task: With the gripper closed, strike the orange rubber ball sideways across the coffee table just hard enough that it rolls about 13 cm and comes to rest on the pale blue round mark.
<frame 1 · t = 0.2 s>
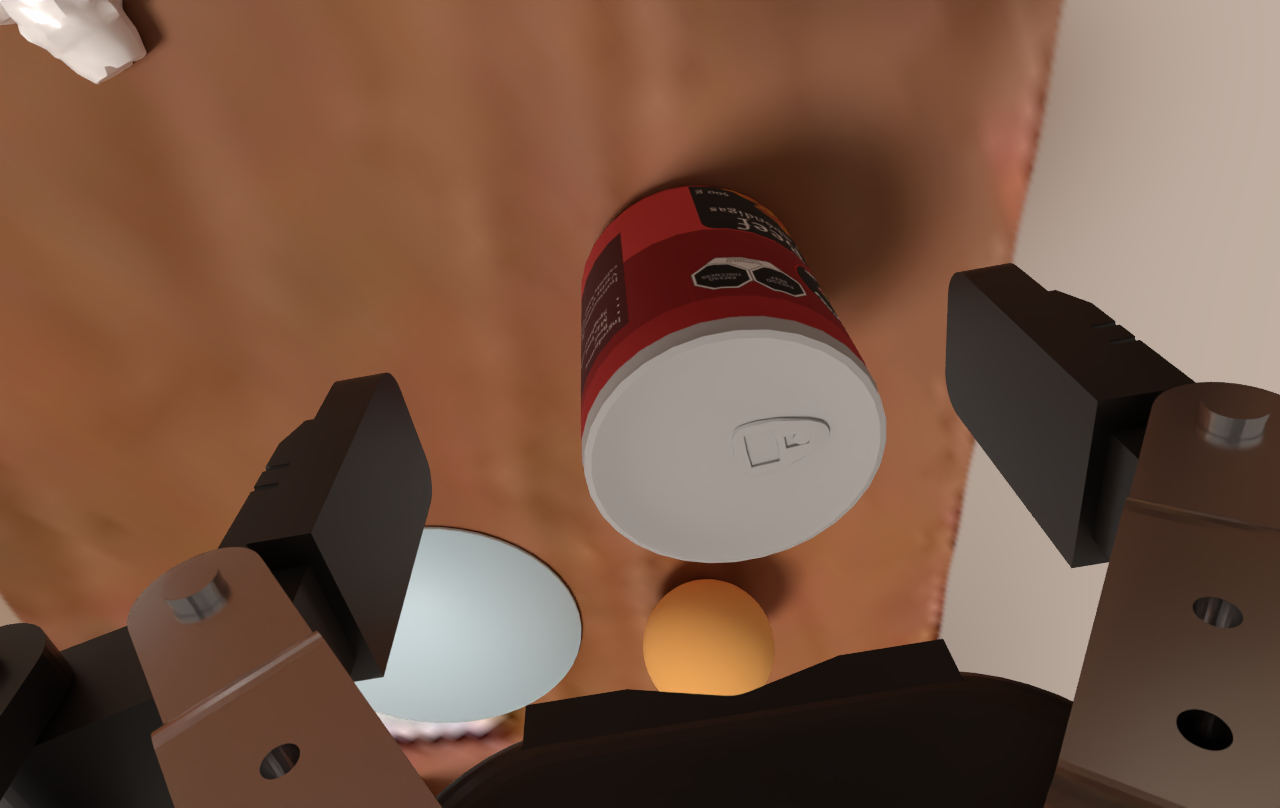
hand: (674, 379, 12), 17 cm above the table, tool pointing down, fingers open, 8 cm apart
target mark: (439, 632, 39), on the table
ball: (708, 645, 37), on the table
canned food: (687, 276, 30), on the table
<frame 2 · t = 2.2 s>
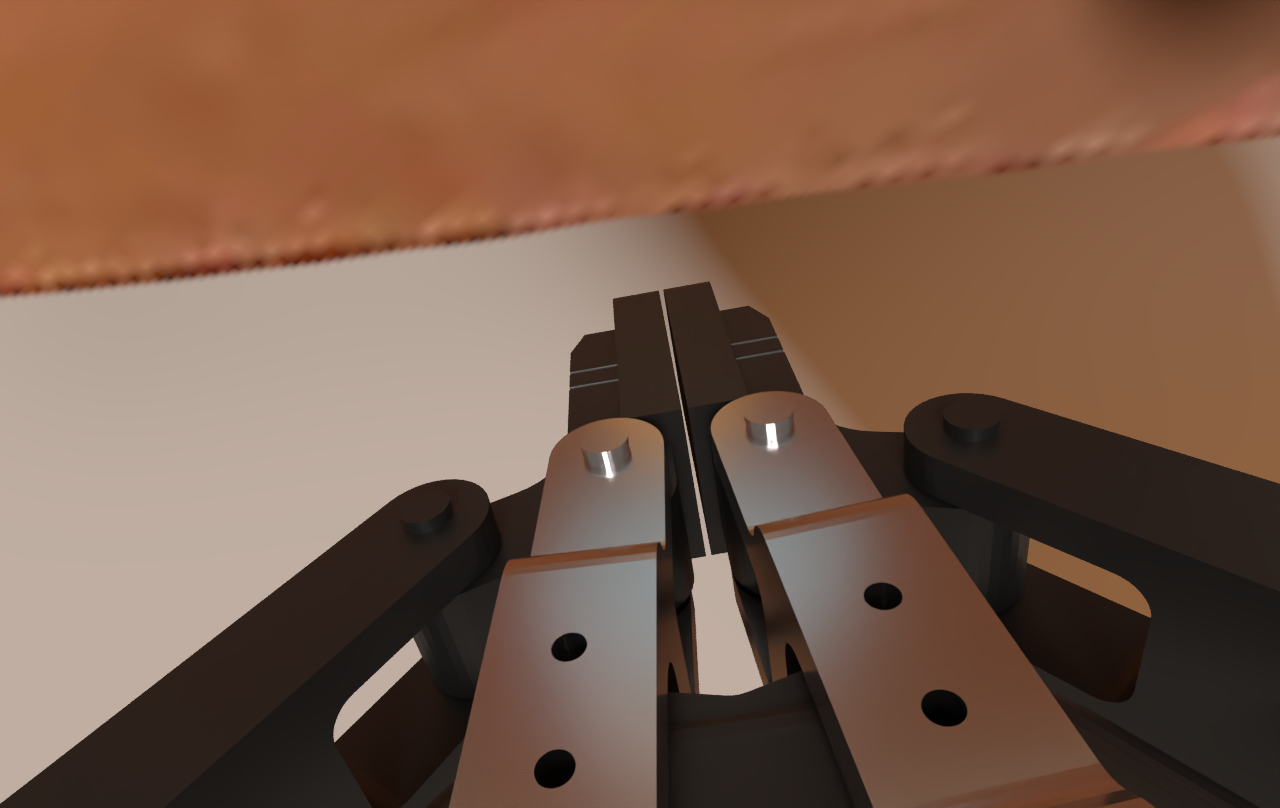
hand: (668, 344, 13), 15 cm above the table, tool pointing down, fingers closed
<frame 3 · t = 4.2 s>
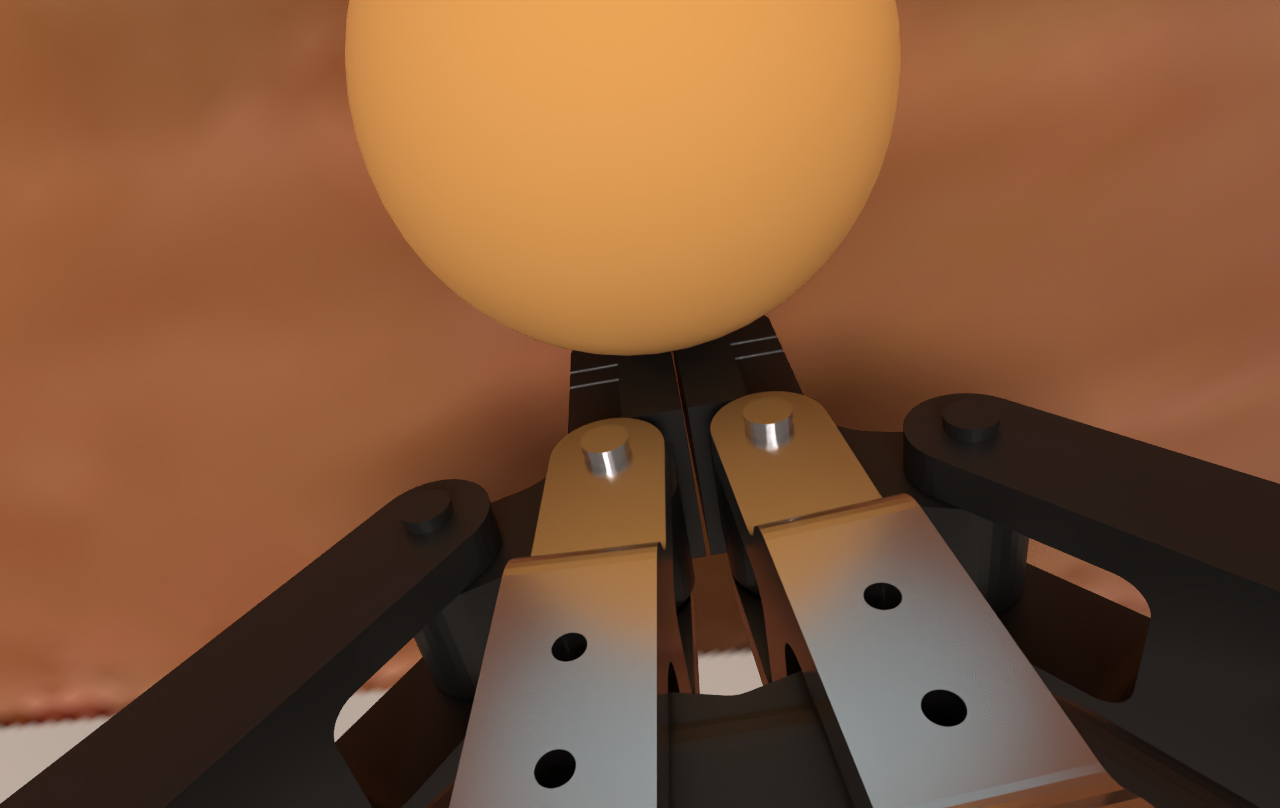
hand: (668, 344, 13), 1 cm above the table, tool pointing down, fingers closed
ball: (624, 92, 9), on the table, touching gripper
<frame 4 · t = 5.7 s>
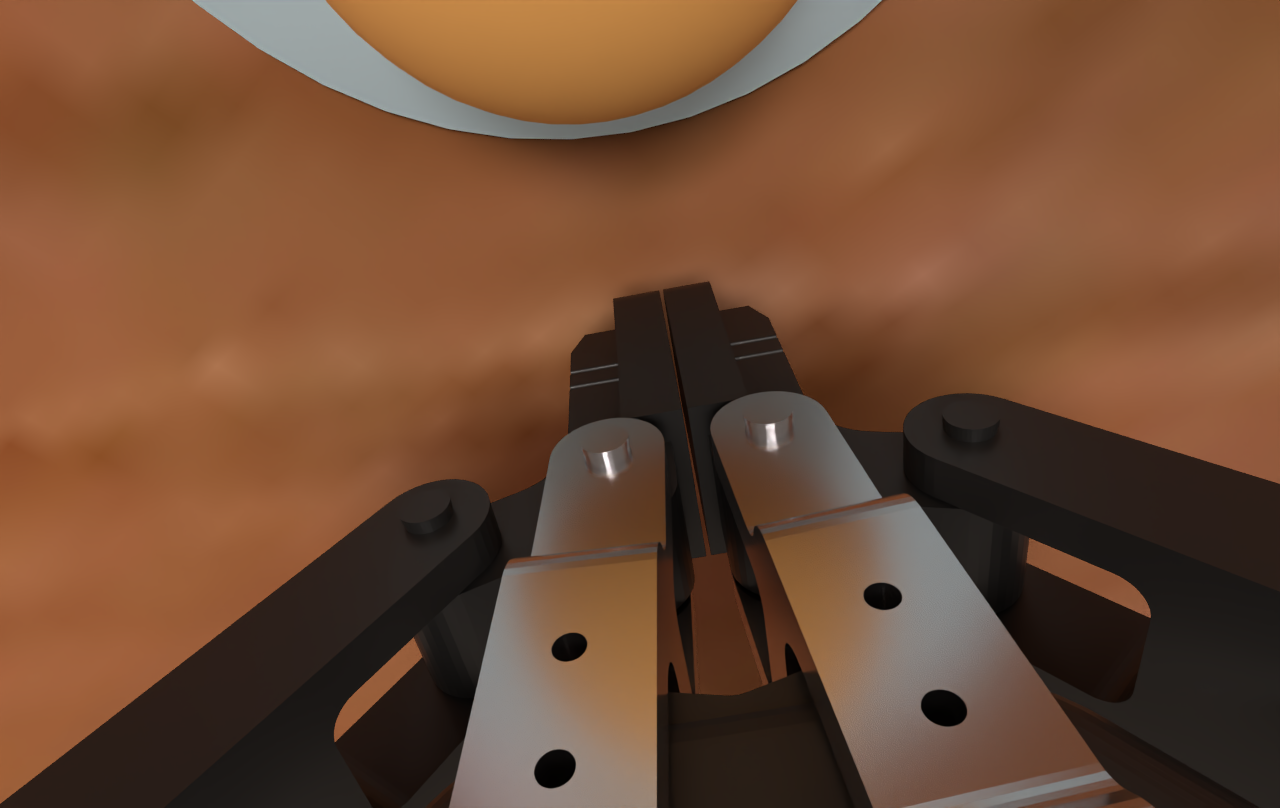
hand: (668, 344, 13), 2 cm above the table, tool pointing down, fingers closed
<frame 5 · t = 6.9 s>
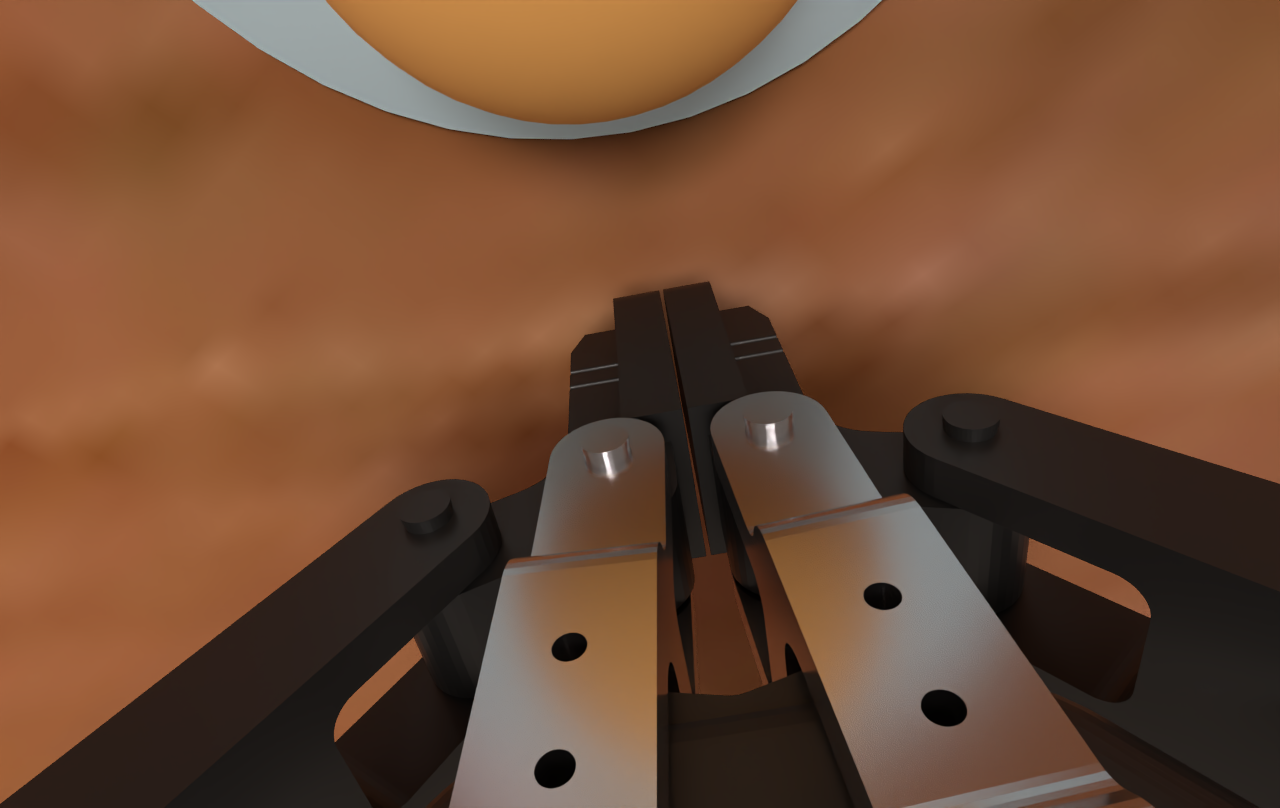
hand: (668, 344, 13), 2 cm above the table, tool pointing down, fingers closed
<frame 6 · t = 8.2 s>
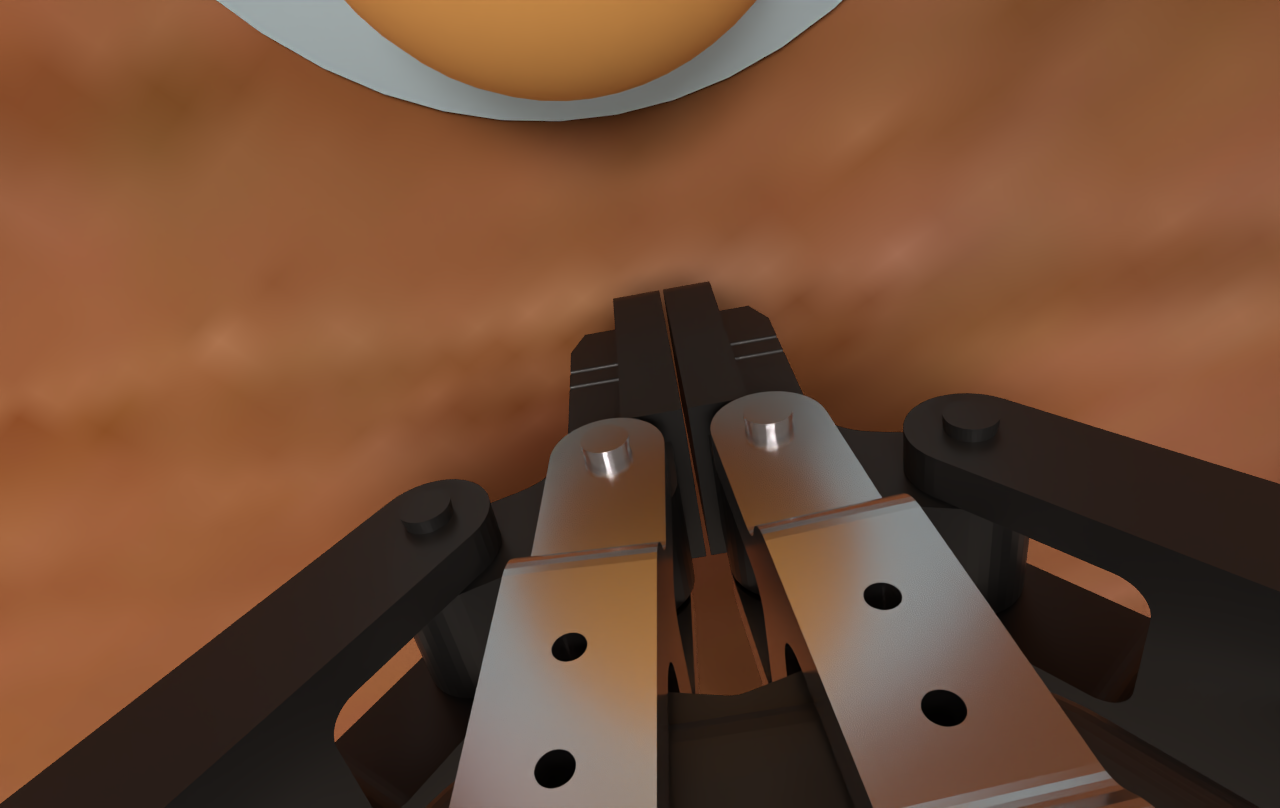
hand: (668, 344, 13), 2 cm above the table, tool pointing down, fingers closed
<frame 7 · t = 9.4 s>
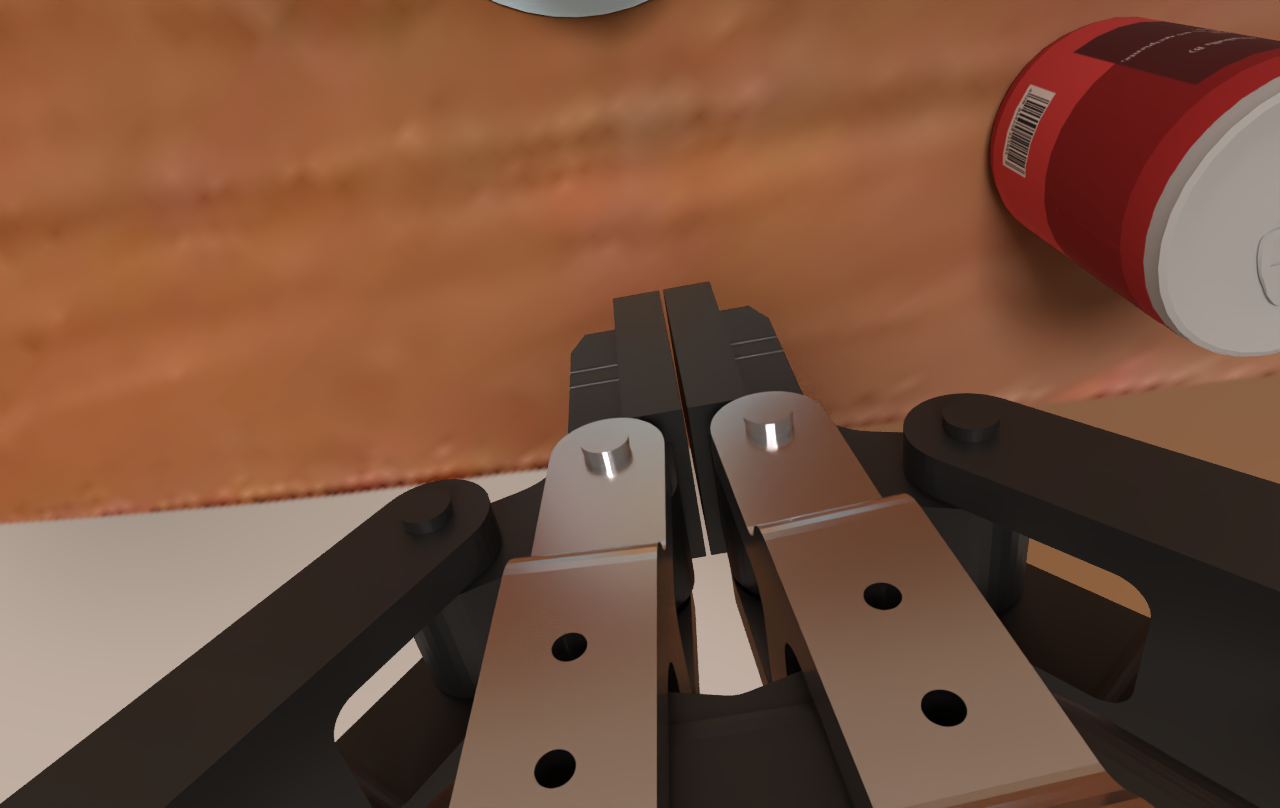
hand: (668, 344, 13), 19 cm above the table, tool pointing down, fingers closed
canned food: (1080, 128, 30), on the table
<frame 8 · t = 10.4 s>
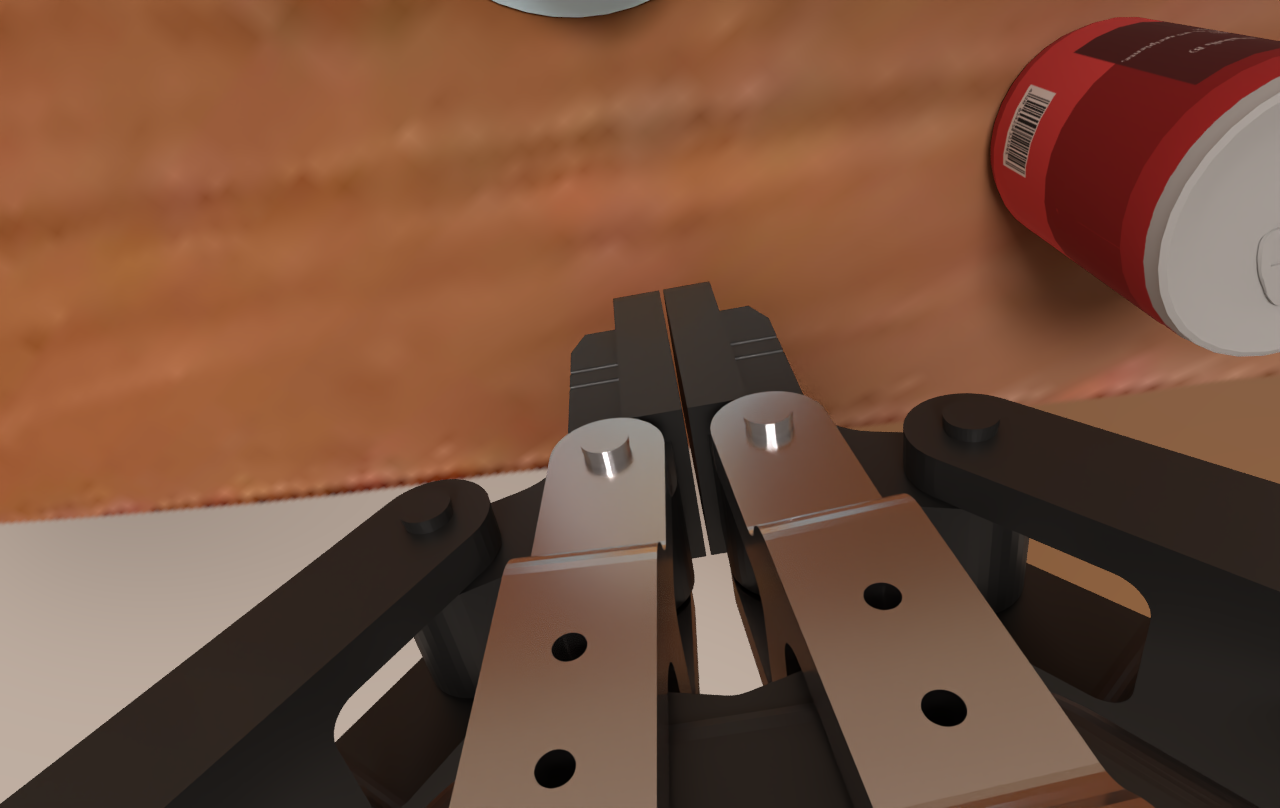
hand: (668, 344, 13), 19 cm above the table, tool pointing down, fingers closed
canned food: (1080, 128, 30), on the table
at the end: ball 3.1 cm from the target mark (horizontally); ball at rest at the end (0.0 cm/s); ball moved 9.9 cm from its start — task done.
